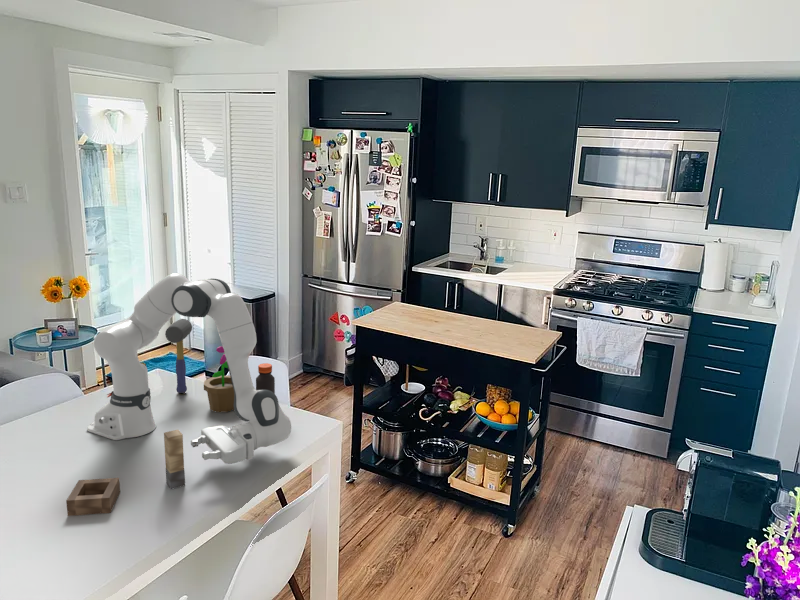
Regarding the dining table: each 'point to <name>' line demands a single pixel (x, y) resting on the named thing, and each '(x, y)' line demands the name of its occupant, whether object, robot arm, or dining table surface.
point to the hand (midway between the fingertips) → (197, 450)
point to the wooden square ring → (93, 496)
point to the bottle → (265, 378)
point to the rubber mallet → (179, 349)
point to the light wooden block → (174, 459)
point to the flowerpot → (220, 388)
